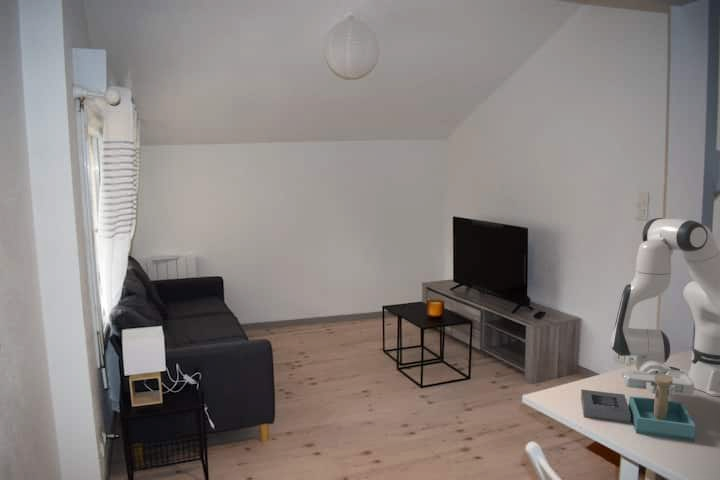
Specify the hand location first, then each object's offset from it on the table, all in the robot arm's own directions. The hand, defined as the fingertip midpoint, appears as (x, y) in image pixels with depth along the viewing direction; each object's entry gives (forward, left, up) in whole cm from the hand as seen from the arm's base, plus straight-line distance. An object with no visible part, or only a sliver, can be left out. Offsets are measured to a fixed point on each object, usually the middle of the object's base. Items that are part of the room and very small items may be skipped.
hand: (662, 392), depth 171 cm
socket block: (+16, -6, -12) cm, 21 cm away
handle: (0, -1, -11) cm, 11 cm away
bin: (0, -1, -12) cm, 12 cm away
